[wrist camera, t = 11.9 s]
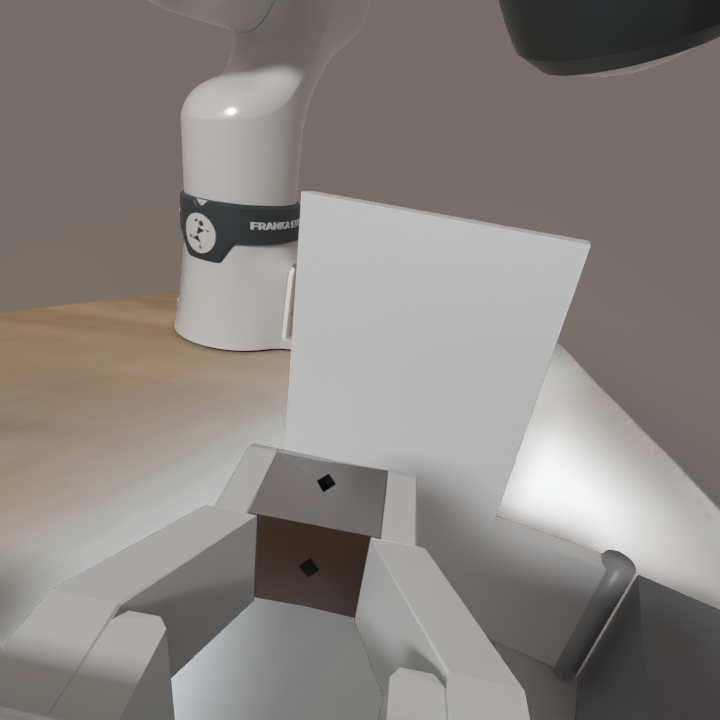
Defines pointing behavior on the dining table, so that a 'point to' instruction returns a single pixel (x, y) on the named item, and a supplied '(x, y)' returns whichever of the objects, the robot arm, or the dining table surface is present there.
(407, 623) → the robot arm
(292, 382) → the side door
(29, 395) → the dining table surface
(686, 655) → the camera body
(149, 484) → the dining table surface
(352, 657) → the dining table surface
